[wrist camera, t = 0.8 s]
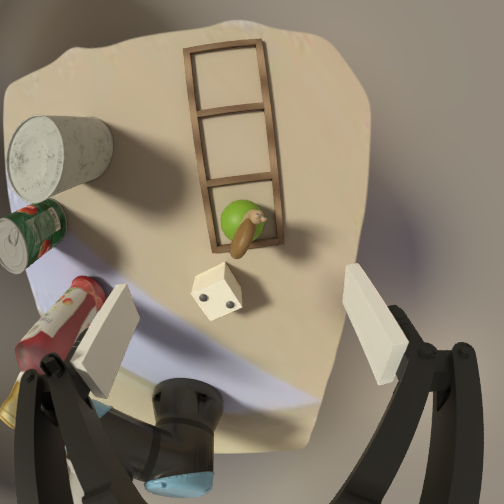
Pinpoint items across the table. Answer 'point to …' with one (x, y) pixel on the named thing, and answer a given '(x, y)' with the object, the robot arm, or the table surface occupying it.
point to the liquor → (55, 333)
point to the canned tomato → (31, 234)
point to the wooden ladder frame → (228, 109)
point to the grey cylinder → (56, 154)
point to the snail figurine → (242, 225)
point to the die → (217, 291)
